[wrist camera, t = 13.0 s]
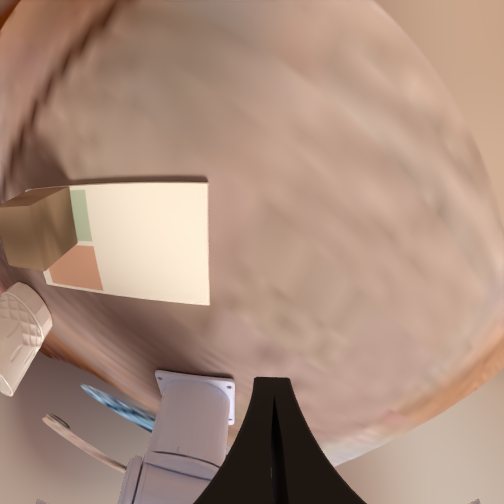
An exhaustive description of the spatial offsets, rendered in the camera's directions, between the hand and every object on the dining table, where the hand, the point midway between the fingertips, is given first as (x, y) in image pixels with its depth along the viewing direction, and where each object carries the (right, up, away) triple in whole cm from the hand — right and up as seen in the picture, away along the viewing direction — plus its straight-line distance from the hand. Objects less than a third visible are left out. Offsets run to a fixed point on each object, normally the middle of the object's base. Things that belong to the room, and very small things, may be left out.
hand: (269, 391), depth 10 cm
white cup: (-25, 0, +12) cm, 28 cm away
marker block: (-16, +9, +7) cm, 20 cm away
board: (-12, +6, +8) cm, 16 cm away
